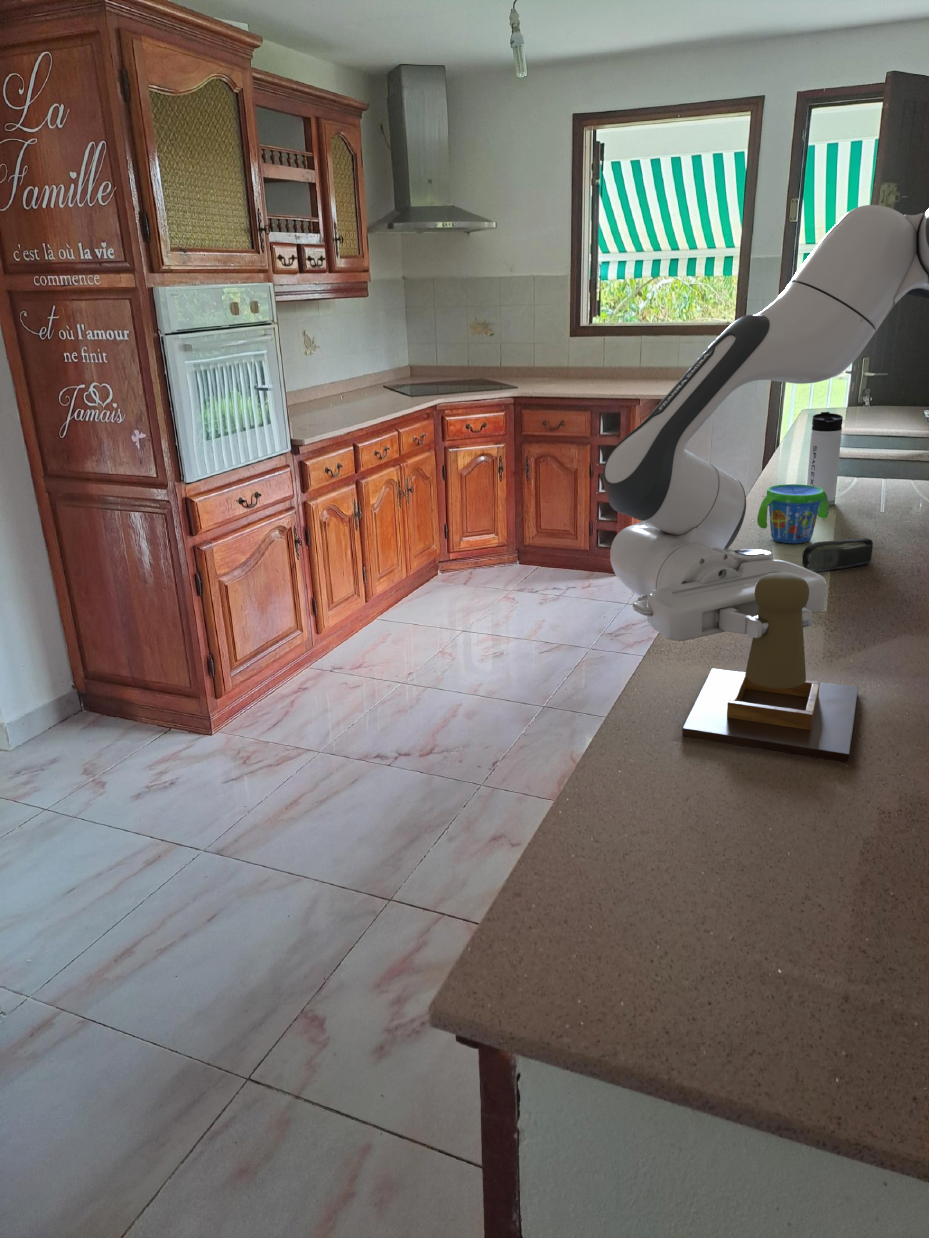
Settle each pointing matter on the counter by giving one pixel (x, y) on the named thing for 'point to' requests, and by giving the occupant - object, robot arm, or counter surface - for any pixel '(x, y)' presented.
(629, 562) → the robot arm
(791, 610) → the cork
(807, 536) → the snack cup
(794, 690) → the pad
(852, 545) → the dark grey stapler
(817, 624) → the counter surface
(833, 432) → the travel mug
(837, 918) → the counter surface
